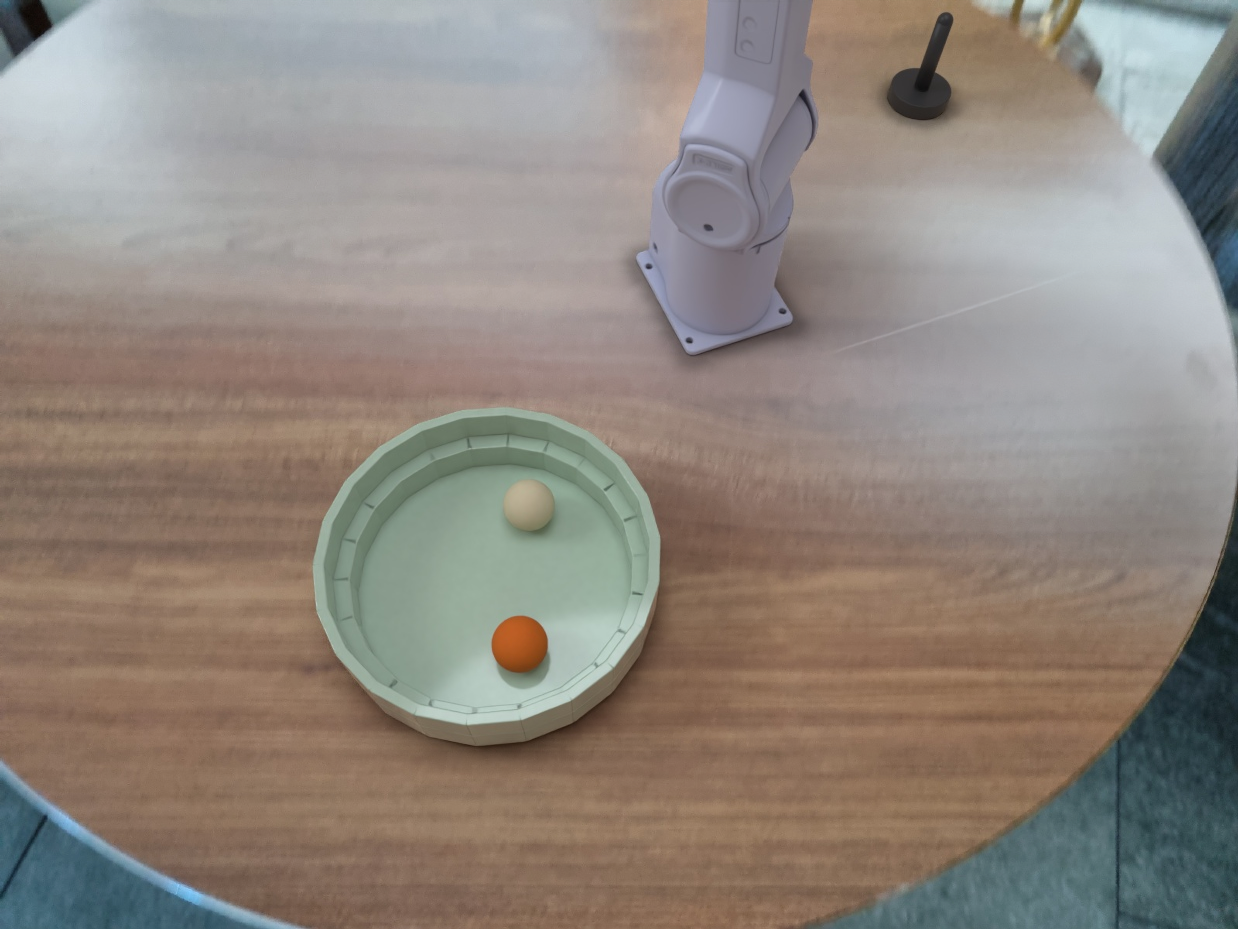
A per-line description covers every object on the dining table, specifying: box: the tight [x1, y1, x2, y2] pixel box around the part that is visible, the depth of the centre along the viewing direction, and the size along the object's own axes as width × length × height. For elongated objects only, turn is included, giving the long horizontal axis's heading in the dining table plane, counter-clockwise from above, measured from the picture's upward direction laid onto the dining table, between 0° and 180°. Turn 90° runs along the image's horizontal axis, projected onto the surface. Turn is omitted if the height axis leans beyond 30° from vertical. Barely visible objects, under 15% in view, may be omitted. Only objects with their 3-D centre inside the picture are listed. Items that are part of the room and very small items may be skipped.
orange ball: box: [491, 616, 548, 673], centre depth 49 cm, size 3×3×3 cm
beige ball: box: [503, 479, 555, 531], centre depth 53 cm, size 3×3×3 cm
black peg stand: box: [887, 11, 954, 120], centre depth 72 cm, size 5×5×8 cm
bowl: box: [312, 406, 662, 747], centre depth 51 cm, size 18×18×5 cm
